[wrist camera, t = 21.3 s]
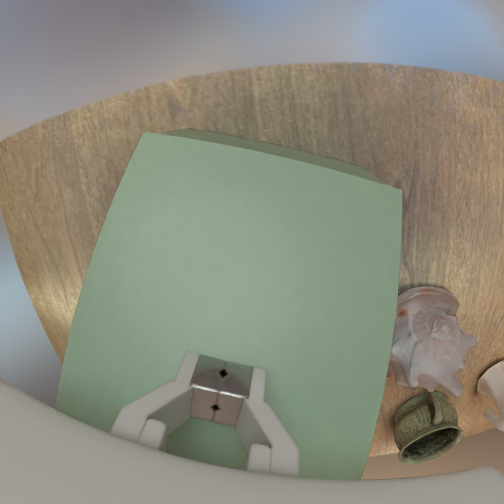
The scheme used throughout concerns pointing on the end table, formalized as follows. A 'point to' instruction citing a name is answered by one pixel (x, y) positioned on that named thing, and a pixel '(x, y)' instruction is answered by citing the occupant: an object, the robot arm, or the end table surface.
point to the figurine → (494, 393)
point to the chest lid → (242, 296)
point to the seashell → (428, 340)
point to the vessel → (426, 428)
